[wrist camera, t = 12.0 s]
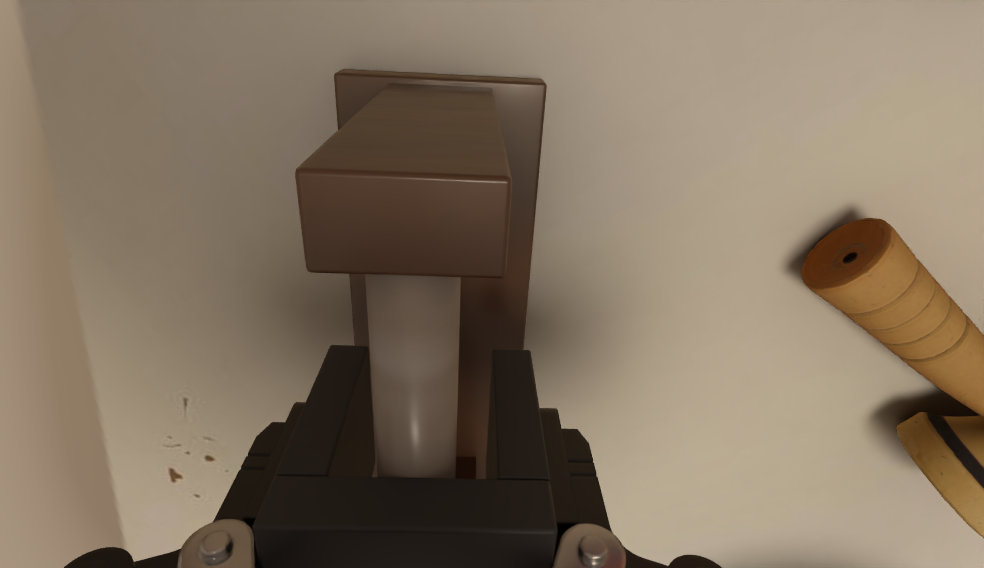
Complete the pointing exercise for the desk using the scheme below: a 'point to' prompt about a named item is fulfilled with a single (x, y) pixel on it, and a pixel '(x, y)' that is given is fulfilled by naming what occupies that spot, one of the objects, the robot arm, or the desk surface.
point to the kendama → (913, 348)
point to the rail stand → (428, 248)
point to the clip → (407, 484)
